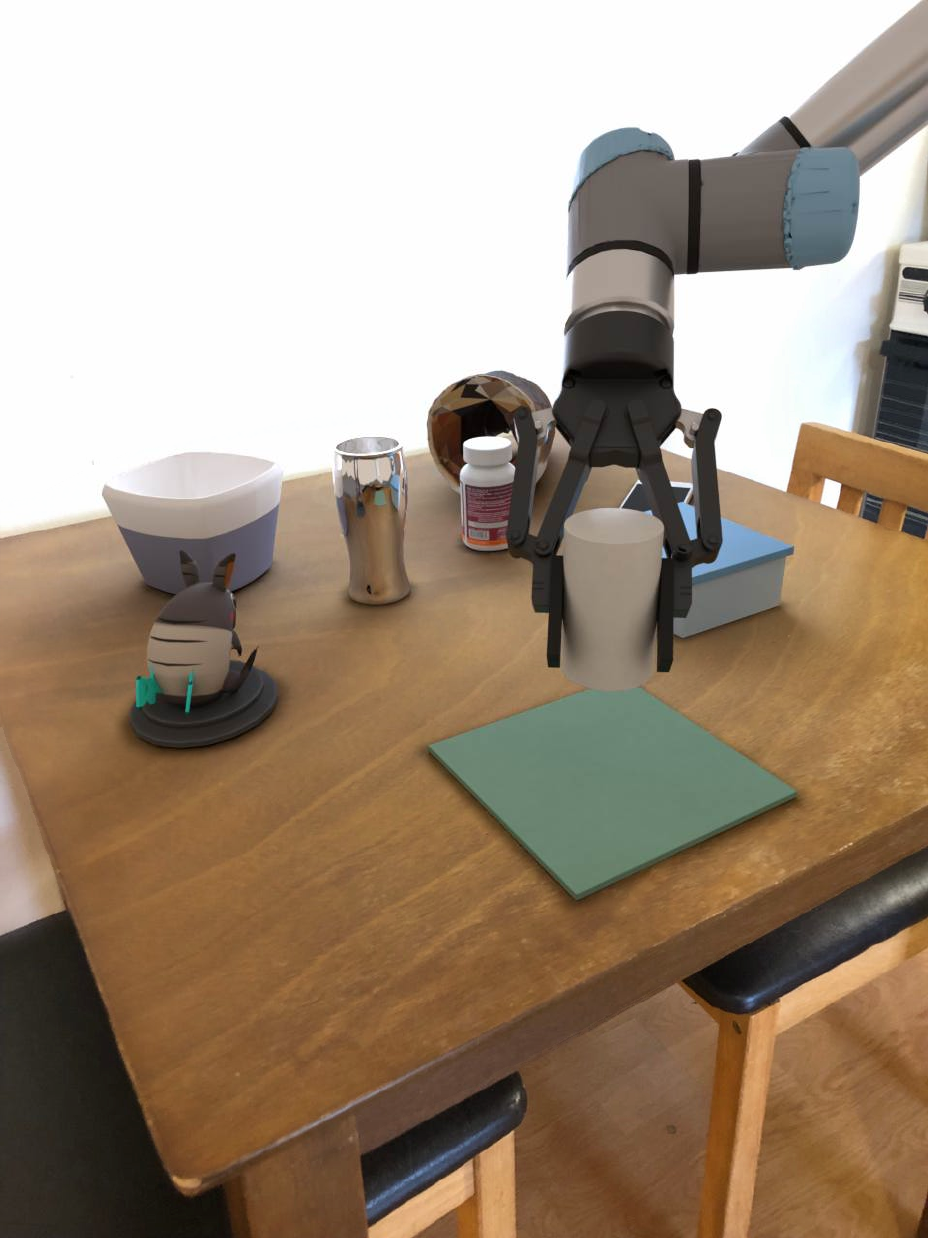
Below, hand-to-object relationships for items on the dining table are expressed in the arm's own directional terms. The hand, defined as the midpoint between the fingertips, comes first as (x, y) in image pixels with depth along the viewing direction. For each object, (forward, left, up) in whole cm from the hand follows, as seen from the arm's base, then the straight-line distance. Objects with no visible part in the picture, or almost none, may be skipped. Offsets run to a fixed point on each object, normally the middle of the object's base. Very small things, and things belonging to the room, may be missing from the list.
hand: (608, 663), depth 57 cm
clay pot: (+64, -33, -11) cm, 73 cm away
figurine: (+27, +19, -11) cm, 34 cm away
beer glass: (+39, -2, -11) cm, 40 cm away
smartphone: (+42, -40, -11) cm, 59 cm away
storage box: (+22, -26, -11) cm, 36 cm away
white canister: (+3, -2, -2) cm, 4 cm away
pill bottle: (+44, -18, -11) cm, 49 cm away
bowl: (+53, +11, -11) cm, 55 cm away
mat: (+3, -2, -11) cm, 11 cm away
